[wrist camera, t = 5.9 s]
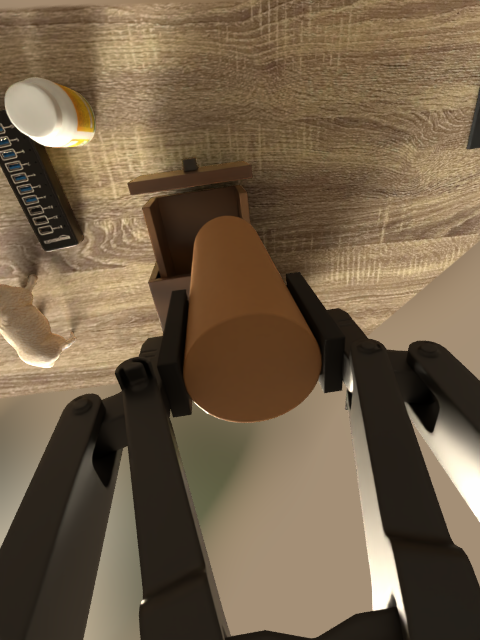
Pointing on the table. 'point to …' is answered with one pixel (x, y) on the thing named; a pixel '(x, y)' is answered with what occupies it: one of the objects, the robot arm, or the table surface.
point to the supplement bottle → (50, 113)
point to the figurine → (29, 326)
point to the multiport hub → (37, 188)
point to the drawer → (188, 208)
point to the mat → (475, 127)
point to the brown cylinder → (244, 329)
